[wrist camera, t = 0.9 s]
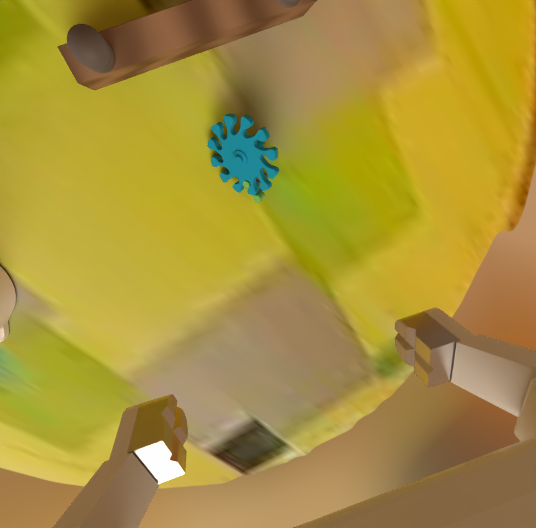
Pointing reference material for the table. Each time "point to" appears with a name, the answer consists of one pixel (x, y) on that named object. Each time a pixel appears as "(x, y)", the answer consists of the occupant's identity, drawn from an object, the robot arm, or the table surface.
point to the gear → (244, 156)
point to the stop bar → (169, 36)
